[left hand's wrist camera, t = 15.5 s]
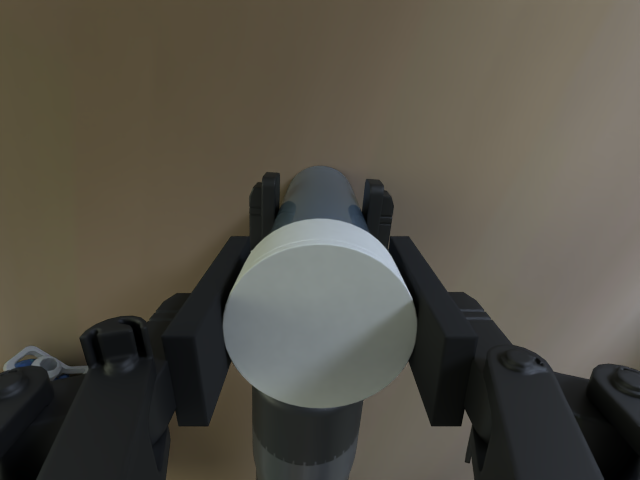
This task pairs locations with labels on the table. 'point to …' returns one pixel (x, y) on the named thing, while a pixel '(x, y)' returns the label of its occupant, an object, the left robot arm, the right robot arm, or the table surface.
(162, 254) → the table surface
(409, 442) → the table surface
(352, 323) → the lid
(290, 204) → the bottle
